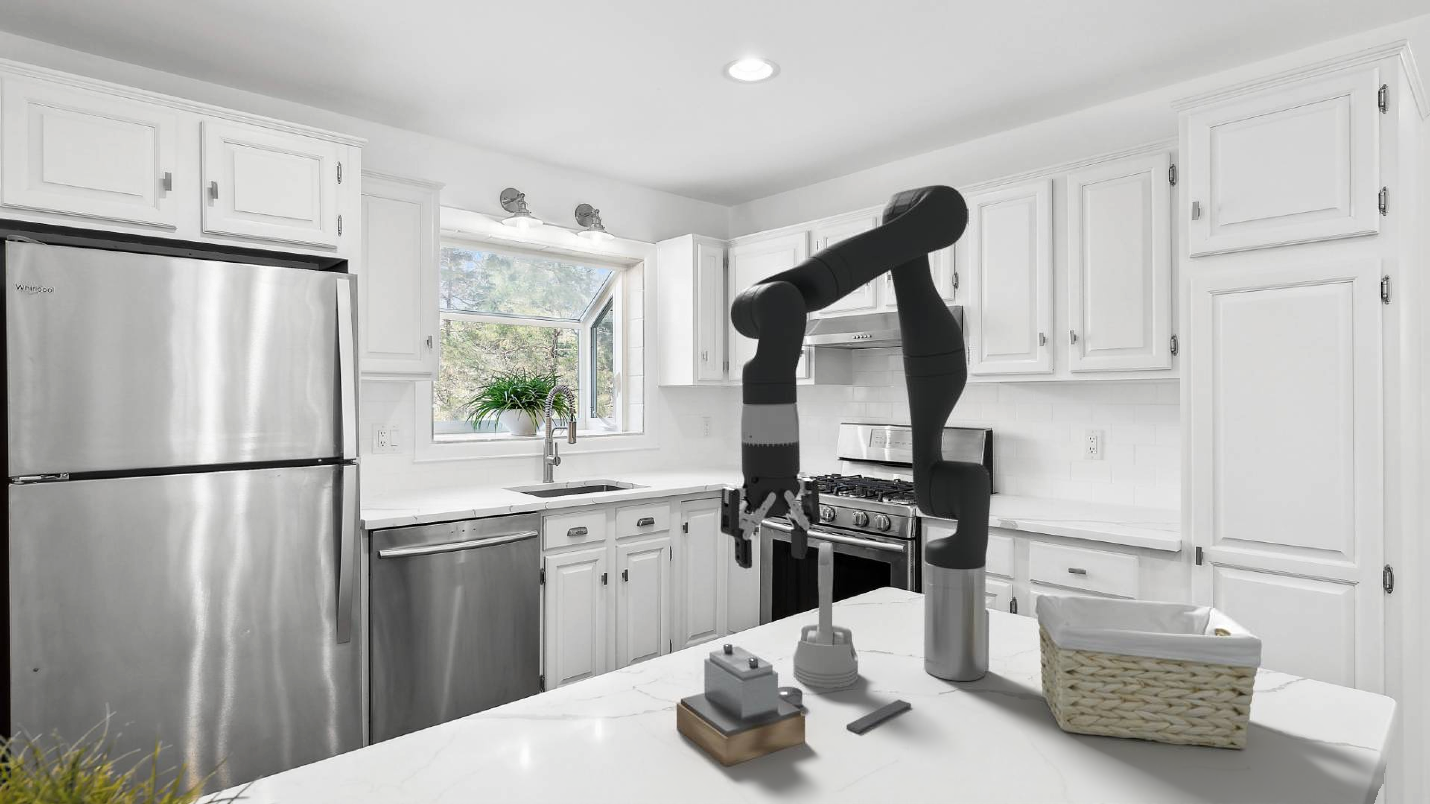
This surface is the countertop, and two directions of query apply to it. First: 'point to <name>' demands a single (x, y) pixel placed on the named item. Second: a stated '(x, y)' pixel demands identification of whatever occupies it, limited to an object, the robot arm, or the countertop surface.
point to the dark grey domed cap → (791, 696)
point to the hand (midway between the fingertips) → (772, 562)
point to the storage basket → (1147, 669)
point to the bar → (878, 716)
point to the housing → (741, 683)
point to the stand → (738, 730)
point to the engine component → (825, 638)
